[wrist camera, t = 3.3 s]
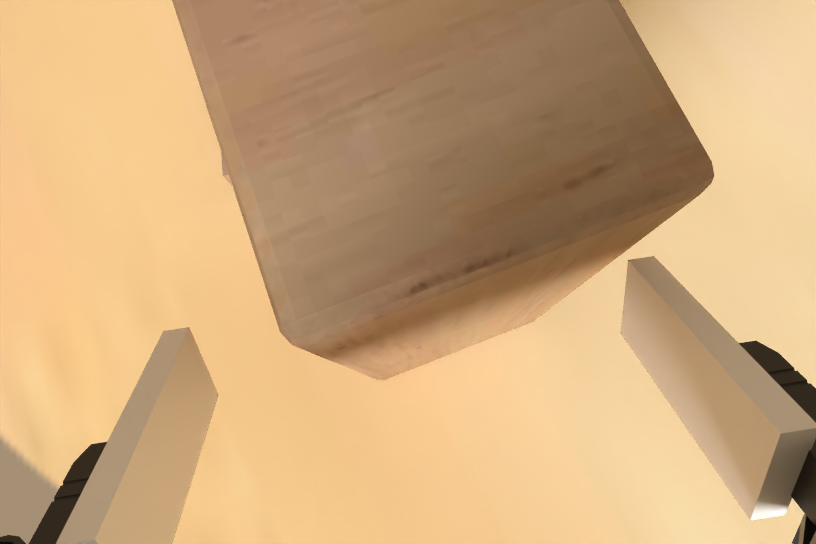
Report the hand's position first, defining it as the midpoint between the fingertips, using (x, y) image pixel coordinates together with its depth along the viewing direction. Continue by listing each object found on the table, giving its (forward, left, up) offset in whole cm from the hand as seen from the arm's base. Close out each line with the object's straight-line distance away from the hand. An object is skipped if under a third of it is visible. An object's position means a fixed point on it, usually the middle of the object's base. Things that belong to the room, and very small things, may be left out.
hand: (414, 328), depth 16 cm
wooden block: (-1, -5, -15) cm, 16 cm away
